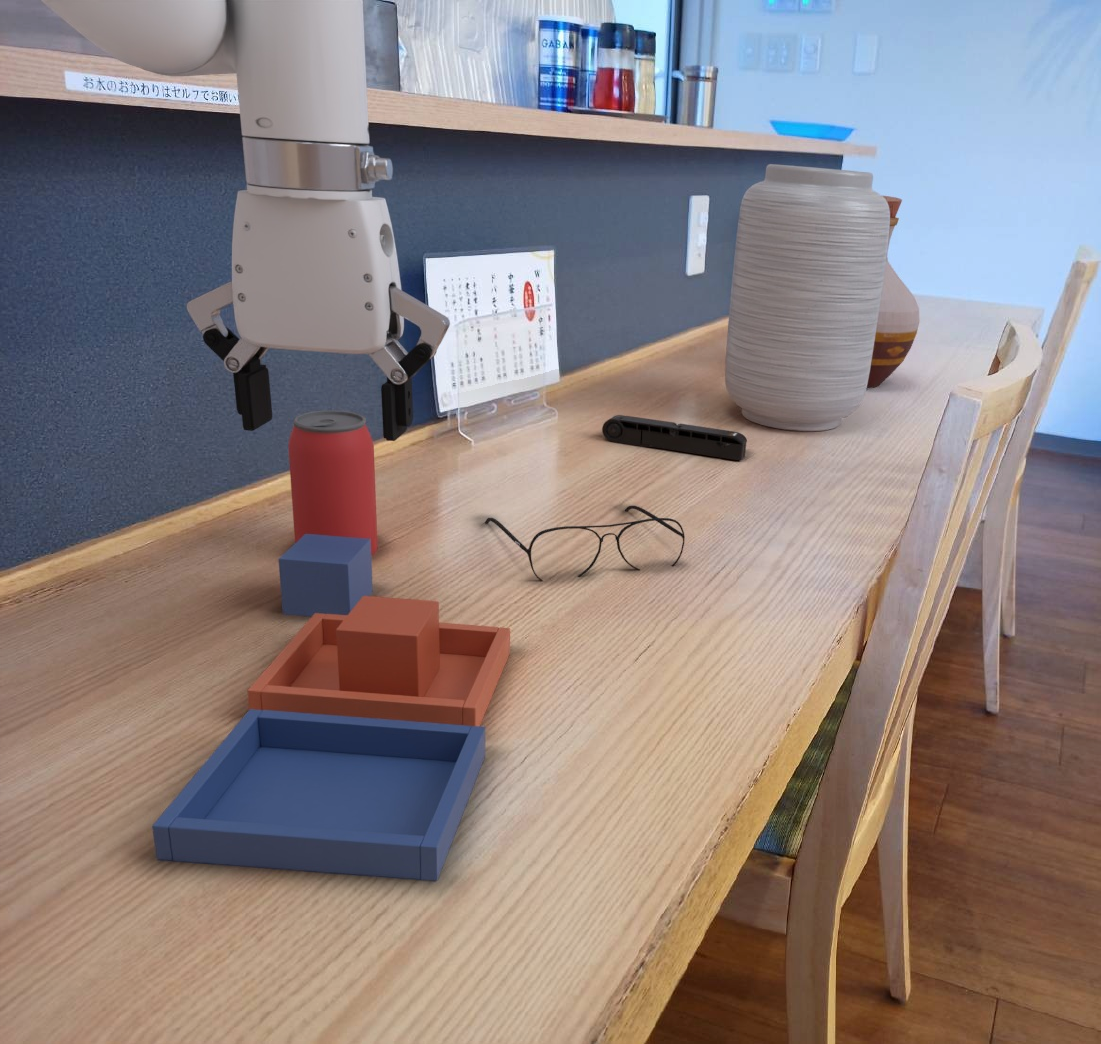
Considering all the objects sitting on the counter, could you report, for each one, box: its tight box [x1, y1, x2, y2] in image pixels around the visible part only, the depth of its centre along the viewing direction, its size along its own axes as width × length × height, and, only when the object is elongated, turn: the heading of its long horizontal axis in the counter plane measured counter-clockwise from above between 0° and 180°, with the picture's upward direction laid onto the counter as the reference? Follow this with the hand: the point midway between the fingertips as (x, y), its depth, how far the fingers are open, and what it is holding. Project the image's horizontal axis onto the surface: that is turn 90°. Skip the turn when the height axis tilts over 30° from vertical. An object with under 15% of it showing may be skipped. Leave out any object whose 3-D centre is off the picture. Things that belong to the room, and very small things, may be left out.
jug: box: [867, 195, 921, 389], centre depth 163 cm, size 20×18×30 cm
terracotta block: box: [336, 595, 440, 697], centre depth 64 cm, size 5×5×5 cm
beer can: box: [287, 409, 379, 556], centre depth 82 cm, size 7×7×12 cm
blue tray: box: [151, 709, 486, 882], centre depth 53 cm, size 14×11×3 cm
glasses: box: [484, 505, 685, 582], centre depth 90 cm, size 14×15×5 cm
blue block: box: [278, 534, 374, 618], centre depth 74 cm, size 5×5×5 cm
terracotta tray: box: [247, 613, 511, 727], centre depth 64 cm, size 14×11×3 cm
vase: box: [724, 163, 890, 432], centre depth 135 cm, size 20×20×34 cm
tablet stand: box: [601, 414, 748, 461], centre depth 121 cm, size 18×3×3 cm, turn 74°
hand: (327, 430), depth 69 cm, fingers open, 9 cm apart
